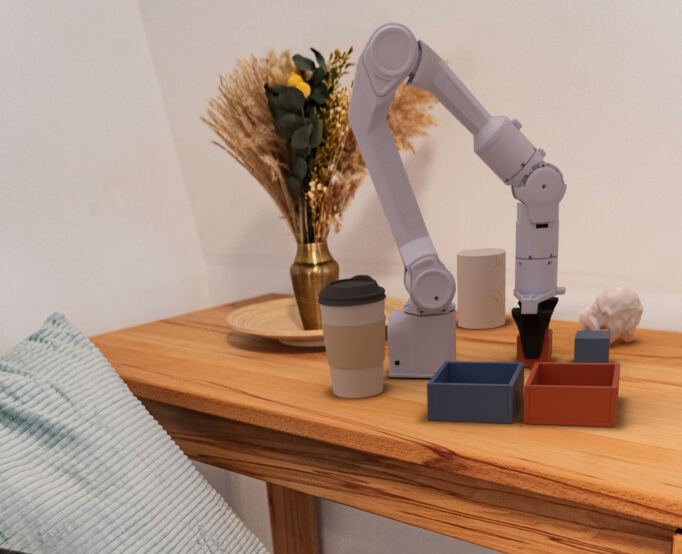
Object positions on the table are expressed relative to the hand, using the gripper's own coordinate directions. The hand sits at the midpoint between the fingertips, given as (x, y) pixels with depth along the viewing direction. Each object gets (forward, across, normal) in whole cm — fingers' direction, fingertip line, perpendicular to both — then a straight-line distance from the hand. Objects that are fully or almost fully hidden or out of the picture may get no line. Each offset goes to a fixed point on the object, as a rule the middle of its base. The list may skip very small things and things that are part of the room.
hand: (534, 353), depth 121 cm
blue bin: (+1, -21, +4) cm, 22 cm away
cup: (+2, +25, +12) cm, 28 cm away
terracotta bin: (+1, -21, -7) cm, 22 cm away
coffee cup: (+2, -15, +22) cm, 27 cm away
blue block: (+1, -1, -8) cm, 8 cm away
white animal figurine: (+2, +14, -9) cm, 17 cm away
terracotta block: (+1, 0, 0) cm, 1 cm away
